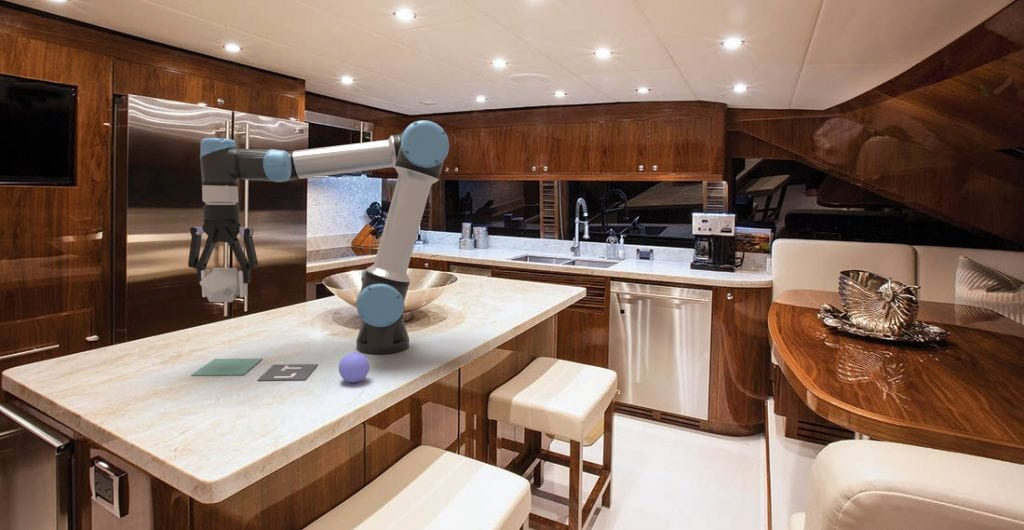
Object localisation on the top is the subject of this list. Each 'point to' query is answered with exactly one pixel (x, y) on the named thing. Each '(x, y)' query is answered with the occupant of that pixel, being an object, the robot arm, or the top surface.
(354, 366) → the sphere
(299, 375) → the tile
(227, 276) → the die
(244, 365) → the mat
